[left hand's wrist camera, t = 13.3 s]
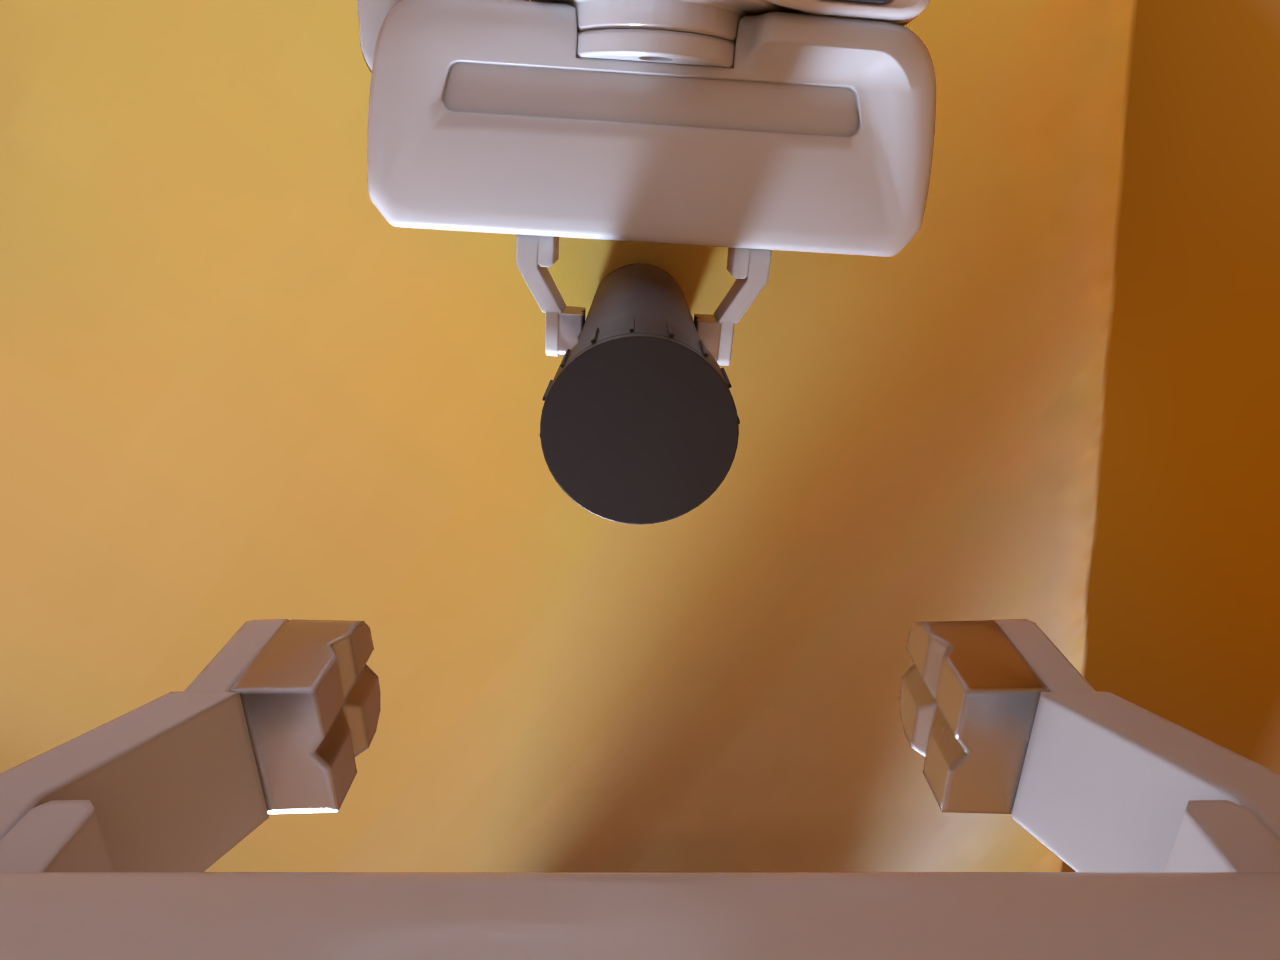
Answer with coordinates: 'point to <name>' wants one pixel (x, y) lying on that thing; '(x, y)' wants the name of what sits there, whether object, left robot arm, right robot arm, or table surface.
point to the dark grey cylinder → (639, 299)
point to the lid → (639, 422)
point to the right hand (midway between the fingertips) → (637, 358)
